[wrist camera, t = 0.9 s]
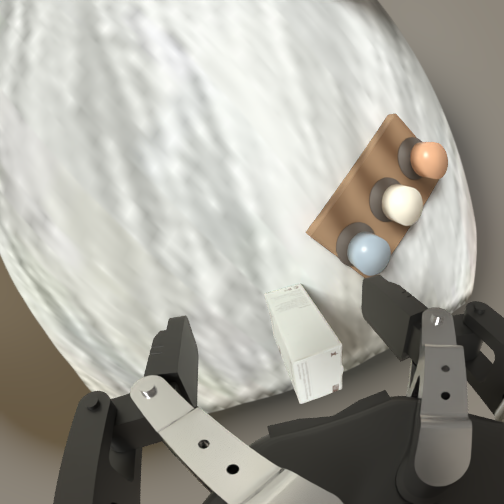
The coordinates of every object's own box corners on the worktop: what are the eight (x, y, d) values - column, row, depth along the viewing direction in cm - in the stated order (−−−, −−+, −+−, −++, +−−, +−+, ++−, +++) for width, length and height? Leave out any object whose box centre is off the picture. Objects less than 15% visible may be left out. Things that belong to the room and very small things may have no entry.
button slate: (362, 224, 33) (374, 230, 31) (384, 244, 35) (396, 251, 32) (340, 254, 34) (350, 263, 32) (363, 273, 36) (374, 282, 33)
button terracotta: (420, 134, 30) (434, 134, 27) (438, 158, 32) (452, 160, 29) (405, 160, 31) (418, 161, 28) (424, 183, 33) (437, 186, 30)
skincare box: (263, 292, 39) (287, 360, 26) (302, 281, 40) (344, 342, 26) (273, 336, 42) (297, 407, 28) (309, 326, 43) (344, 391, 29)
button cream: (394, 176, 32) (408, 179, 29) (414, 199, 33) (427, 203, 30) (375, 205, 33) (388, 210, 30) (396, 227, 34) (409, 233, 31)
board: (388, 113, 33) (397, 112, 31) (435, 170, 37) (444, 171, 34) (304, 233, 37) (310, 238, 35) (363, 278, 41) (370, 284, 39)
